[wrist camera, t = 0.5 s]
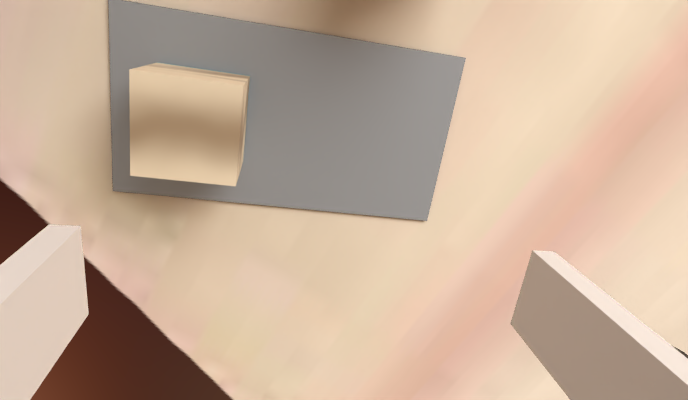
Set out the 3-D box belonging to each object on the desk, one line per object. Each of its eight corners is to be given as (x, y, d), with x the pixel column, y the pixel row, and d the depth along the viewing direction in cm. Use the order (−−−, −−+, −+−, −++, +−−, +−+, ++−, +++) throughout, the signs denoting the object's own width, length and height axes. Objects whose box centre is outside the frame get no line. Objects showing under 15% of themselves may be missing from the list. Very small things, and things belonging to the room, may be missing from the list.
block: (158, 62, 34) (129, 69, 27) (250, 75, 35) (243, 85, 29) (157, 149, 36) (130, 175, 30) (243, 159, 38) (235, 186, 31)
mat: (109, -2, 32) (108, -2, 32) (464, 57, 37) (465, 57, 37) (114, 189, 37) (112, 190, 37) (425, 219, 42) (426, 220, 42)
